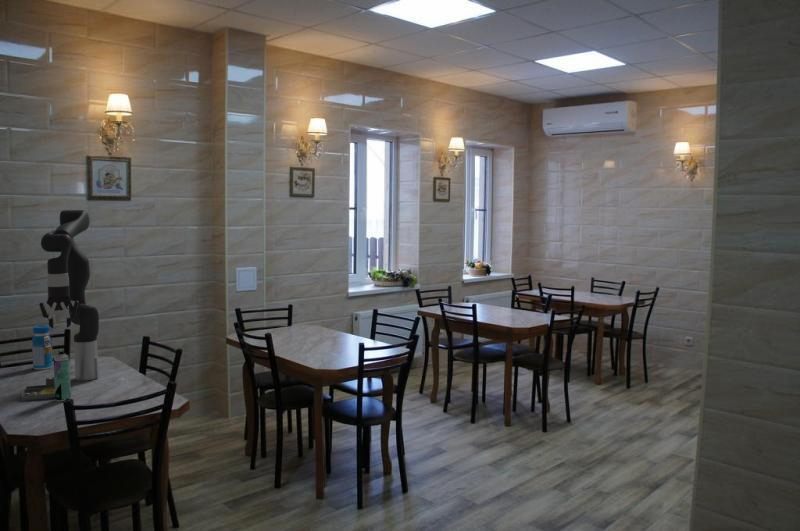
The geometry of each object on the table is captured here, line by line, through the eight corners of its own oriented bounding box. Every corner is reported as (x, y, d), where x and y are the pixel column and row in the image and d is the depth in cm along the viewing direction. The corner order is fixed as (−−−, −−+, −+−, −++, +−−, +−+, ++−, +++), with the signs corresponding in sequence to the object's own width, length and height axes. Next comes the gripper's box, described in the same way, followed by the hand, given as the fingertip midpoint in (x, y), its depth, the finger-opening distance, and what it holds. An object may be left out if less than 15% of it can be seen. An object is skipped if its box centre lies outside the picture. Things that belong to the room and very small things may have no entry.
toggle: (55, 386, 265) (54, 376, 264) (54, 388, 262) (54, 378, 262) (47, 387, 263) (46, 377, 263) (46, 389, 261) (45, 379, 261)
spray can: (67, 396, 258) (65, 348, 256) (73, 399, 254) (71, 350, 253) (53, 400, 254) (50, 350, 252) (58, 402, 250) (56, 352, 248)
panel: (67, 389, 267) (67, 382, 267) (64, 397, 257) (63, 390, 257) (26, 393, 262) (26, 386, 262) (21, 401, 251) (21, 394, 251)
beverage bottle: (32, 370, 297) (30, 328, 295) (33, 366, 304) (31, 325, 303) (52, 368, 301) (51, 327, 299) (53, 364, 308) (51, 324, 306)
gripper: (79, 283, 256) (81, 324, 257) (39, 284, 251) (41, 326, 252) (77, 285, 249) (79, 328, 250) (36, 286, 244) (38, 330, 245)
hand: (60, 327), depth 251 cm, fingers open, 5 cm apart
